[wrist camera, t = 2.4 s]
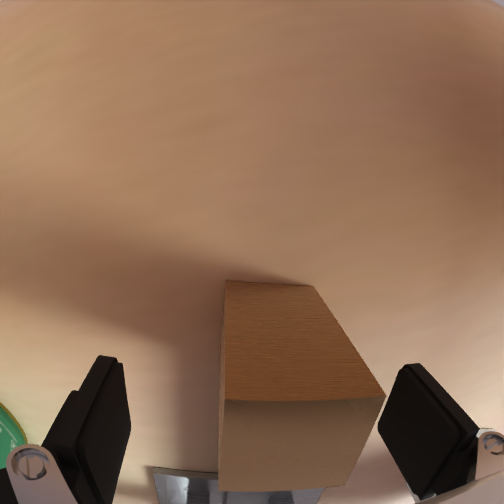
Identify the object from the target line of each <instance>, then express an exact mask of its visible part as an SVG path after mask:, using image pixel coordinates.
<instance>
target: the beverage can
mask: <svg viewBox="0 0 504 504" xmlns="http://www.w3.org/2000/svg"><path fill="white" fill-rule="evenodd" d="M25 444H27V438H26V436H25V433H24V431H23V429H22V428H21V426H20V424H19V423H18V422H17V420H16V419H15V418H14V416H13V415H12V414H11V413H10V412H9V411H8V410H7V409H6V407H5V406H3V405H2V404H1V403H0V469H2V468H5V467H6V460H7V456H8V455H9V453H10V452H11V451H12V450H13V449H15V448H16V447H18V446H21V445H25Z"/></svg>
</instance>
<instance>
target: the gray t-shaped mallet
mask: <svg viewBox="0 0 504 504" xmlns="http://www.w3.org/2000/svg"><path fill="white" fill-rule="evenodd" d="M385 397H386V394H385V393H384V391H383V390H382V388H381V387H380V385H379V384H378V382H377V380H376V379H375V377H374V376H373V374H372V373H371V371H370V370H369V368H368V367H367V365H366V364H365V362H364V361H363V359H362V358H361V356H360V355H359V353H358V352H357V350H356V349H355V347H354V346H353V344H352V343H351V341H350V340H349V338H348V337H347V335H346V334H345V332H344V331H343V329H342V328H341V326H340V325H339V323H338V322H337V320H336V319H335V317H334V316H333V314H332V313H331V311H330V310H329V309H328V307H327V306H326V304H325V303H324V301H323V300H322V298H321V297H320V295H319V294H318V292H317V291H316V290H315V288H314V287H313V286H297V285H282V284H267V283H253V282H240V281H227V280H226V286H225V299H224V311H223V324H222V338H221V352H220V380H219V429H218V491H225V492H224V502H223V504H267V503H268V500H269V497H270V494H271V491H289V490H304V489H315V488H324V487H333V486H340V485H345V483H346V481H347V479H348V477H349V475H350V473H351V472H352V470H353V468H354V466H355V464H356V462H357V460H358V458H359V456H360V454H361V452H362V450H363V448H364V446H365V443H366V441H367V439H368V437H369V435H370V433H371V430H372V428H373V426H374V424H375V421H376V419H377V417H378V414H379V412H380V410H381V407H382V405H383V402H384V400H385Z"/></svg>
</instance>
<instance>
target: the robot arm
mask: <svg viewBox="0 0 504 504" xmlns="http://www.w3.org/2000/svg"><path fill="white" fill-rule="evenodd" d="M479 430H480V428H479V427H478V426H477V425H476V424H475V423H474V422H473V420H472V419H471V418H470V417H469V416H468V415H467V414H466V413H465V411H464V410H463V409H462V408H461V407H460V406H459V405H458V404H457V403H456V401H455V400H454V399H453V398H452V397H451V396H450V395H449V394H448V393H447V392H446V391H445V389H444V388H443V387H442V386H441V385H440V384H439V383H438V382H437V381H436V380H435V379H434V378H433V376H432V375H431V374H430V373H429V372H428V371H427V370H426V369H425V368H424V367H423V366H422V365H421V364H420V363H415V364H406V365H404V366H403V368H402V369H400V370H399V372H398V375H397V377H396V380H395V383H394V385H393V388H392V390H391V393H390V396H389V398H388V401H387V403H386V405H385V408H384V410H383V413H382V415H381V417H380V420H379V422H378V432H379V434H380V435H381V437H382V439H383V441H384V442H385V444H386V446H387V448H388V450H389V451H390V453H391V455H392V457H393V458H394V460H395V462H396V464H397V465H398V467H399V469H400V471H401V473H402V474H403V476H404V478H405V480H406V482H407V483H408V485H409V487H410V489H411V491H412V492H413V494H415V495H417V496H418V498H419V499H420V501H421V502H418V503H415V504H504V435H502V434H501V433H498V432H494V431H488V432H484V433H482V434H481V436H480V437H479V438H478V437H477V436H476V435H477V433H478V431H479ZM130 432H131V420H130V414H129V408H128V401H127V394H126V387H125V379H124V370H123V364H122V363H119V362H118V361H117V358H115V357H108V356H102V355H99V356H98V357H97V359H96V360H95V362H94V364H93V366H92V367H91V369H90V371H89V373H88V374H87V376H86V378H85V380H84V382H83V383H82V385H81V387H80V389H79V391H76V390H73V391H71V393H70V394H69V396H68V397H67V399H66V401H65V403H64V404H63V406H62V408H61V410H60V412H59V413H58V415H57V417H56V419H55V421H54V423H53V424H52V426H51V428H50V430H49V432H48V434H47V436H46V438H45V440H44V441H43V443H42V445H41V446H39V445H34V444H25V445H21V446H18V447H16V448H15V449H13V450H12V451H11V452H10V453H9V455H8V456H7V460H6V467H5V468H2V469H0V504H112V502H113V498H114V494H115V489H116V485H117V481H118V477H119V473H120V469H121V465H122V462H123V458H124V454H125V450H126V447H127V443H128V439H129V436H130ZM434 494H436V496H435V497H433V496H434ZM431 497H433V498H431ZM428 498H430V499H428ZM425 499H427V500H425ZM422 500H424V501H422Z"/></svg>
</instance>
